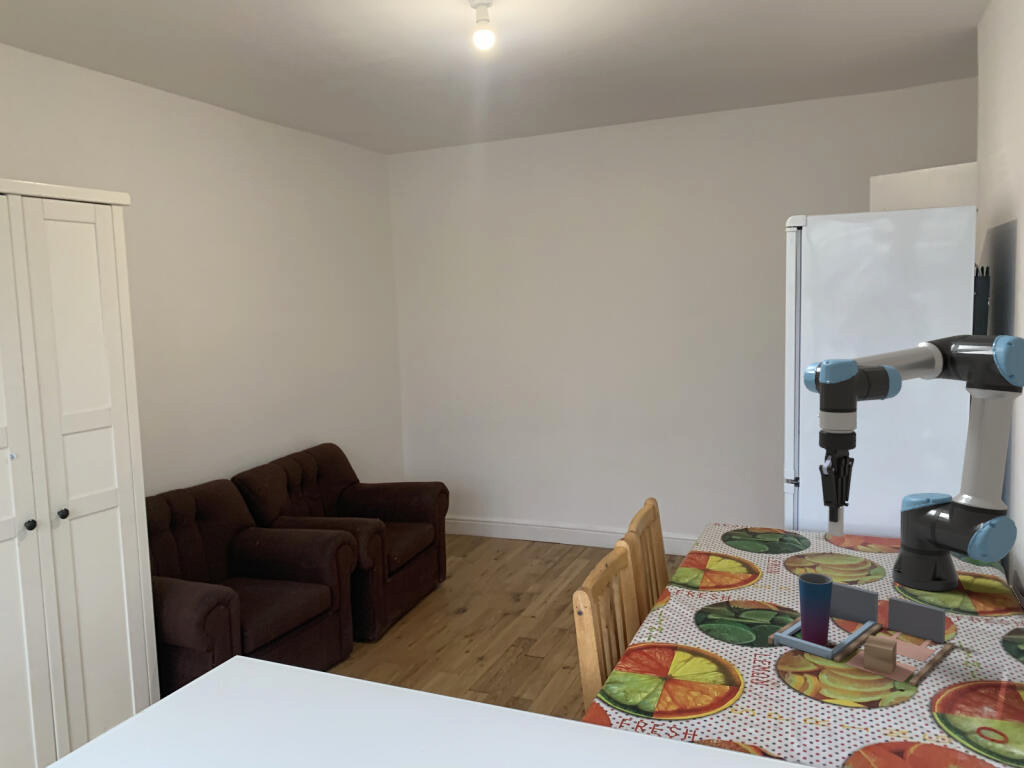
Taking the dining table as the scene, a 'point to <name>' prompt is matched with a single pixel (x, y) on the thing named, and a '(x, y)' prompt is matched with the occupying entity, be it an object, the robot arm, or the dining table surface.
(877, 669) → the walnut cube
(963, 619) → the dining table surface
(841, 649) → the frame
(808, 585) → the cup
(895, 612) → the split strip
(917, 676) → the lane guides
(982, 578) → the dining table surface
